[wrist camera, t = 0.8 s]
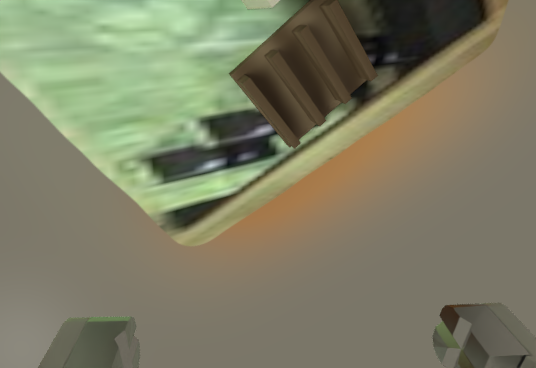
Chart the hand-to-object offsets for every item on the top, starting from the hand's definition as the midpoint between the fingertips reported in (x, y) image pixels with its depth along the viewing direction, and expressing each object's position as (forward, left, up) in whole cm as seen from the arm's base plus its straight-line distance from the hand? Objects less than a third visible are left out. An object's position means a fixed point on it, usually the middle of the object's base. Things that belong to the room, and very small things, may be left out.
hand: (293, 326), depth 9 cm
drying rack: (-6, +16, -42) cm, 45 cm away
